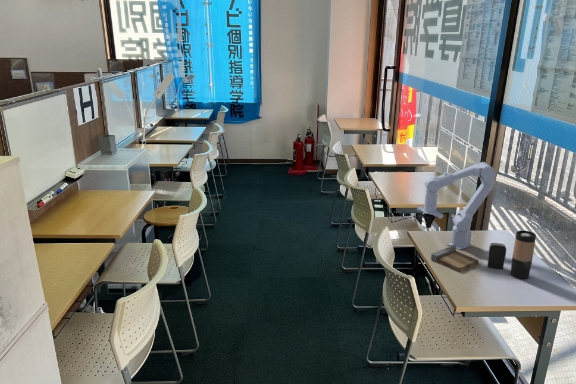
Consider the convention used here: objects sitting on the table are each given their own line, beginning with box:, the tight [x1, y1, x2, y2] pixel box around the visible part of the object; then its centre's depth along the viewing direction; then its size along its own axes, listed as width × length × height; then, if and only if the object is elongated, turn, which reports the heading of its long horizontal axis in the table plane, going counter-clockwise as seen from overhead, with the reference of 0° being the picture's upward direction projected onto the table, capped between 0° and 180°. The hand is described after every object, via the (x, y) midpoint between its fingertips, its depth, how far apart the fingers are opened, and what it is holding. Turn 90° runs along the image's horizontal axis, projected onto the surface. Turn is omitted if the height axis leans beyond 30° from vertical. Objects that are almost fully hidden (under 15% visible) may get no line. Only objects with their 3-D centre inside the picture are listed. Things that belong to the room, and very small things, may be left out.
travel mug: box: [510, 229, 537, 280], centre depth 191 cm, size 8×8×20 cm
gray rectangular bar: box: [430, 246, 454, 263], centre depth 212 cm, size 13×3×3 cm, turn 124°
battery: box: [486, 242, 507, 270], centre depth 201 cm, size 7×4×11 cm, turn 69°
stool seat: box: [436, 245, 479, 273], centre depth 207 cm, size 15×15×4 cm
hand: (428, 227), depth 224 cm, fingers closed
